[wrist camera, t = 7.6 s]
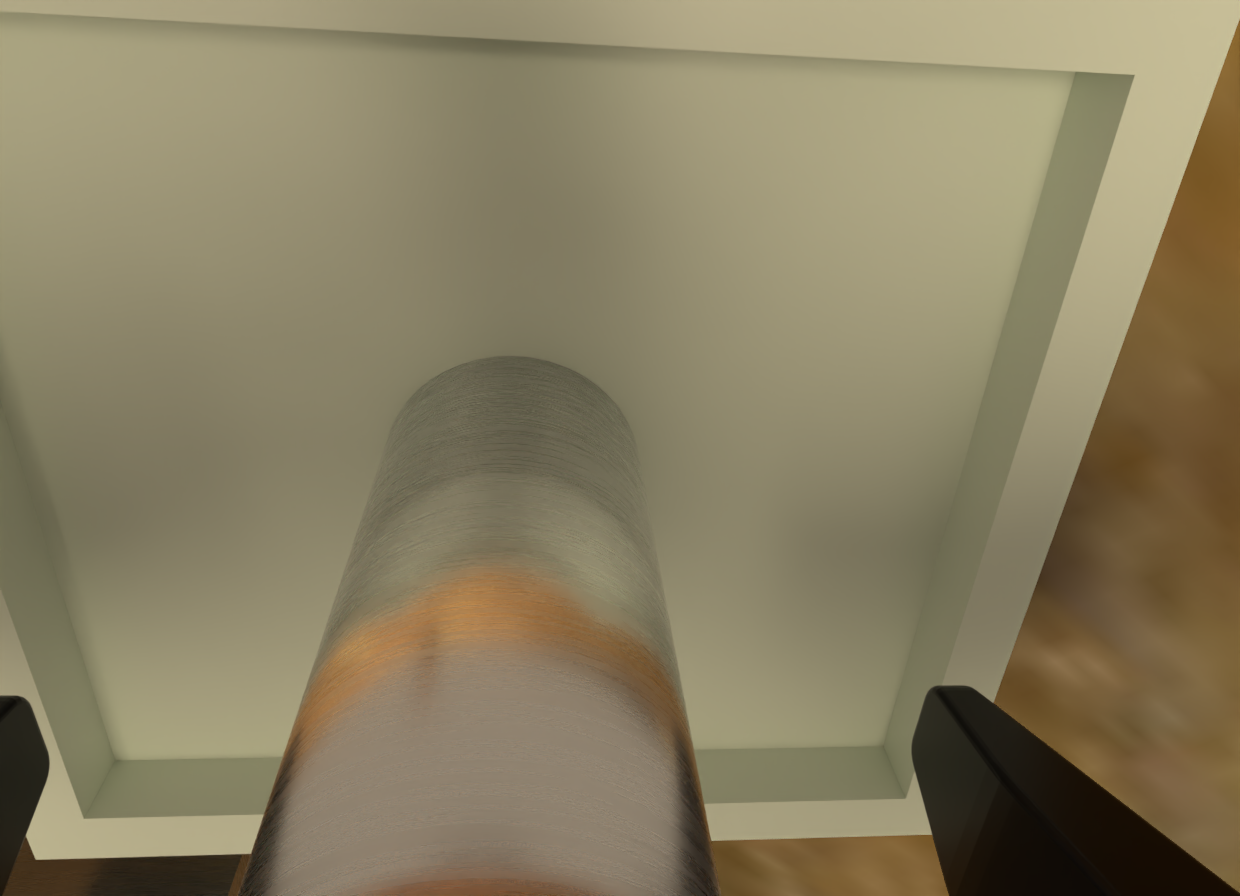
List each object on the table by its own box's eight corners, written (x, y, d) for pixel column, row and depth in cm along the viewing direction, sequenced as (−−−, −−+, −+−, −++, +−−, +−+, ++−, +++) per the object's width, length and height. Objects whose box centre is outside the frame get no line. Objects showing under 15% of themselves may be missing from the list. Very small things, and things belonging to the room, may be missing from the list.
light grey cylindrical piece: (693, 320, 12) (1013, 1094, 4) (664, 602, 15) (820, 1449, 6) (325, 309, 12) (-214, 1165, 3) (357, 603, 14) (91, 1518, 6)
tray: (1152, -23, 11) (1252, -20, 9) (911, 757, 18) (946, 833, 16) (-224, -116, 10) (-375, -131, 8) (85, 773, 16) (36, 859, 15)
